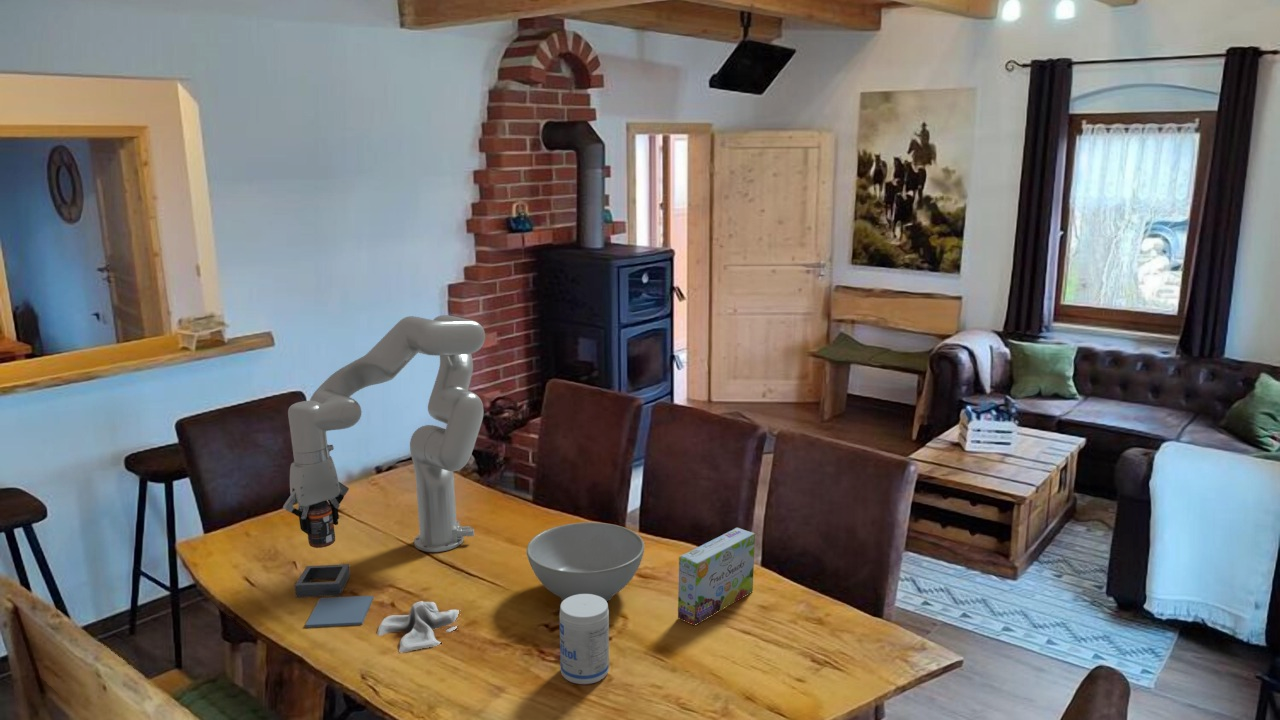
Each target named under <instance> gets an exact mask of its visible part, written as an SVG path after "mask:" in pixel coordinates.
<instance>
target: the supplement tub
mask: <svg viewBox="0 0 1280 720" xmlns="http://www.w3.org/2000/svg"><path fill="white" fill-rule="evenodd" d="M559 607H560V608H559V618H558V619H559V653H560V654H559V655H560V656H559V661H560V662H559V663H560V664H559V666H560V673H561V676H562V677H563V678H564V679H565V680H566V681H567V682H568V681H569V683H572V684H577V685H590V684H591V685H592V684H594V683H597V682H600V681H601V679H602V680H603V679H604V678H605V677H607V675H608V673H609V669H610V636H609V635H610V625H609V624H610V620H609V619H610V618H609V617H610V616H609V615H610V614H609V613H610V611H609V604H608V602H607V601H606V600H605V599H603V598H602V597H600V596H597V595H593V594H578V595H573V596H570V597H568V598H566V599H565V600H564V601H563V600H562V601H561V603H560V606H559Z"/></svg>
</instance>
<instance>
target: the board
mask: <svg viewBox="0 0 1280 720" xmlns="http://www.w3.org/2000/svg"><path fill="white" fill-rule="evenodd" d="M373 600H374V595H360V596H359V595H357V596H356V595H354V596H338V597H335V596H332V597H320V598H319V600H318V601H317V603H316V605H315V606H314V609H313V610H312V612H311V614H310V615H309V617H308V619H307V620H306V621H307V622H306V623H305V624H304V626H305V628H319V627H320V628H321V627H323V628H324V627H341V626H343V627H344V626H345V627H346V626H361V625H363V623H364V621H365V619H366V617H367V615H368V612H369V610H370V607H371V606H372V603H373Z"/></svg>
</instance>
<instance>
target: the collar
mask: <svg viewBox="0 0 1280 720" xmlns="http://www.w3.org/2000/svg"><path fill="white" fill-rule="evenodd" d="M350 569H351V568H350V563H346V564H344V563H343V564H342V563H341V564H324V565H306V566H305V567H304V569H303V571H302V572H301V575H300V577H299V578H298V580H297V581H296V583H295V584H294V591H295V592H294V593H295V599H297V598H311V597H312V598H313V597H314V598H316V597H335V596H338V597H340V596H341V595H342V593H343V591H344V588H345V587H346V585H347V582H348V581H349V579H350V577H351V570H350ZM330 579H331V580H332V579H334V580H335V581H318V582H317V581H314V582H311V581H312V580H330Z"/></svg>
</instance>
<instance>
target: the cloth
mask: <svg viewBox="0 0 1280 720" xmlns="http://www.w3.org/2000/svg"><path fill="white" fill-rule="evenodd" d="M458 614H459V609H455V608H454V609H449V610H446V611H439V609H438V605H437V604H436V603H435V602H434V601H423V600H420V601H417V602H414V603H413V604H412V606H411V608H410V611H409V613H408V614H405V615H404V614H402V615H400V614H399V615H398V614H395V615H388V616H385V618H384V619H382V621H381V622H380V624H379V626H378V629H377V632H376V634H377V635H378V636H379V637H380V636H383V635H386V633H387V634H391V633H398V632H399V631H404V632H408V633H406V634H404V635H403V636H402V637H401V639H400V640H399V649H398V651H399V652H400V653H399V652H398V653H399V654H402V653H401V652H405V653H409V652H408V651H411V652H413V651H412V650H416V651H418V650H417V649H421V650H423V649H422V648H427V649H430V648H429V647H433V648H435V647H434V646H437V645H439V644H440V643H441V642H442V641H439V640H437V639H436V634H435V633H434V631H433V630H432V629H435V628H439V627H442V626H446V625H449V624H451V623H453V622H455V620H456V618H457V617H458ZM456 621H457V620H456ZM455 623H456V622H455ZM457 626H458V625H455V627H454V626H452V627H448V628H449V629H447V628H446V629H447V630H446V632H451V631H453V630H455V629H456V628H457ZM397 631H398V632H397ZM453 632H454V631H453ZM399 633H400V632H399ZM437 647H438V646H437Z"/></svg>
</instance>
